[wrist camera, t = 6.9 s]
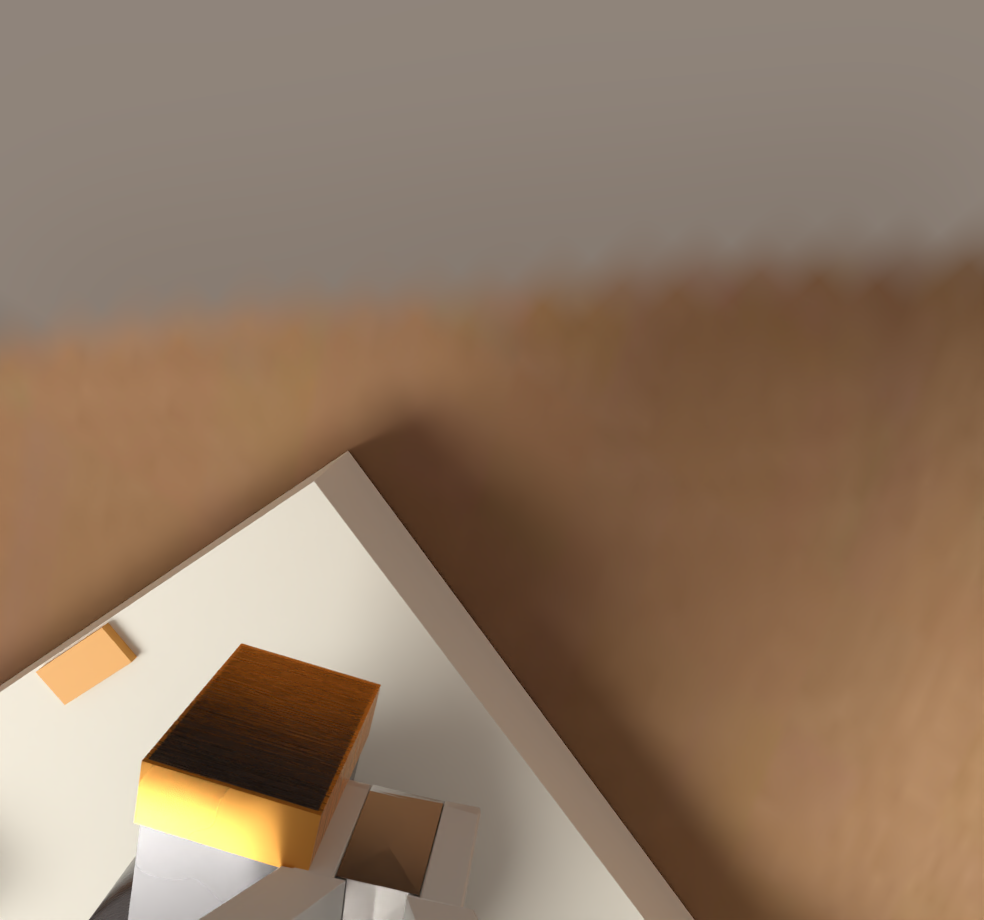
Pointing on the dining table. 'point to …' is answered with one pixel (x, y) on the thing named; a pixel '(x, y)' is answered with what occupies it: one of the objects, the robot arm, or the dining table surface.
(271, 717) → the knob
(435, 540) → the dining table surface
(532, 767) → the base
